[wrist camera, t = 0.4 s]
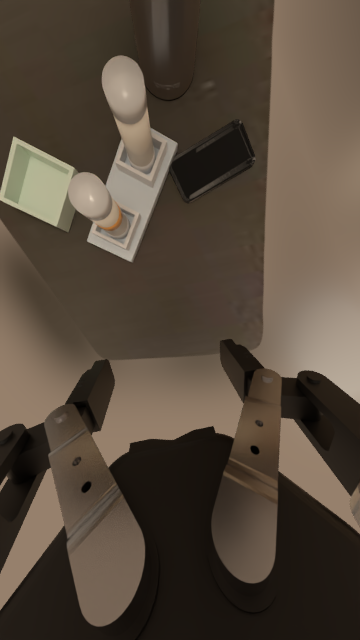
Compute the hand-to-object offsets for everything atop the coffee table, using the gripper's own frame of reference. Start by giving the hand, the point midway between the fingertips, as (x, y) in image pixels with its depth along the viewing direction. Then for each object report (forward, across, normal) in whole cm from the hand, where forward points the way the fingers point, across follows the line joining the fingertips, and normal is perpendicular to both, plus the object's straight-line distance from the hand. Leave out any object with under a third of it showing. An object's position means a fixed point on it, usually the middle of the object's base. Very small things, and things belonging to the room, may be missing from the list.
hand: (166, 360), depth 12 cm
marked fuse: (+28, +6, -12) cm, 31 cm away
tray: (+31, +18, -19) cm, 41 cm away
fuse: (+29, -1, -22) cm, 37 cm away
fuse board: (+30, +2, -17) cm, 34 cm away
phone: (+30, -13, -21) cm, 39 cm away
